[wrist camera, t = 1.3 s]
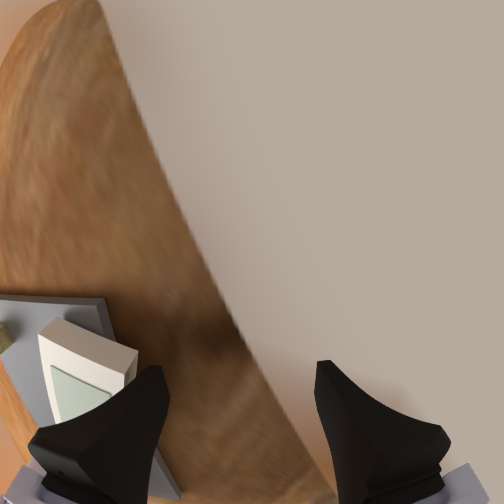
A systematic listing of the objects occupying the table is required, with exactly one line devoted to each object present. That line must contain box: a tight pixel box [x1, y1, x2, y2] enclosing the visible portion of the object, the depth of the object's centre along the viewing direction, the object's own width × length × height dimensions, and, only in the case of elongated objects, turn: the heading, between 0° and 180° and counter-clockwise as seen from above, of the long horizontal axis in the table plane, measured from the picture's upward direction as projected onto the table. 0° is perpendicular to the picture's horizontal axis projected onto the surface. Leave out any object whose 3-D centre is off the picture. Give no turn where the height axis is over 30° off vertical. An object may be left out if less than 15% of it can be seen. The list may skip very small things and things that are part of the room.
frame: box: [38, 317, 138, 424], centre depth 13 cm, size 18×5×2 cm, turn 163°
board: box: [0, 294, 182, 500], centre depth 14 cm, size 21×12×4 cm, turn 3°
